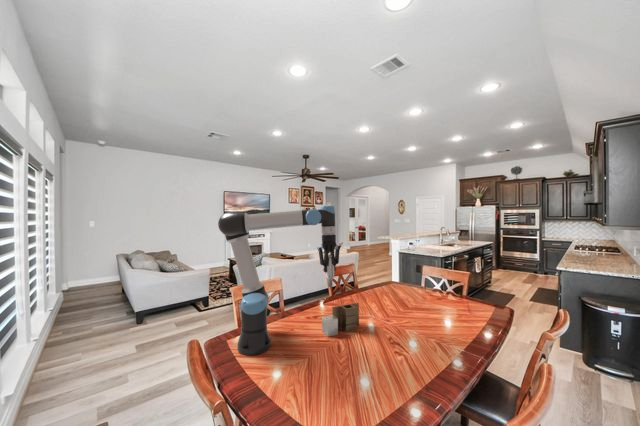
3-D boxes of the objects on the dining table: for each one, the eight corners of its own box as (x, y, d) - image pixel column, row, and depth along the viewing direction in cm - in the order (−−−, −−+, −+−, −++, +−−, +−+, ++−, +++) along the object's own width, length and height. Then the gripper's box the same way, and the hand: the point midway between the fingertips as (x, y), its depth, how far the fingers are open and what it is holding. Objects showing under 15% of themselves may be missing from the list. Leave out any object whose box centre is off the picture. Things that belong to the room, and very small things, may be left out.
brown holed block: (346, 332, 137) (346, 309, 137) (340, 327, 143) (340, 305, 143) (364, 328, 142) (364, 306, 142) (358, 324, 148) (357, 302, 148)
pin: (328, 287, 141) (327, 255, 141) (325, 285, 144) (325, 255, 144) (334, 286, 142) (333, 255, 142) (331, 285, 145) (330, 254, 145)
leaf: (327, 336, 133) (327, 312, 133) (322, 331, 138) (321, 308, 139) (356, 330, 140) (356, 307, 140) (350, 325, 146) (350, 303, 146)
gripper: (318, 235, 136) (319, 281, 136) (344, 233, 143) (346, 277, 143) (312, 234, 143) (313, 278, 143) (337, 233, 150) (339, 274, 150)
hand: (330, 277), depth 143 cm, fingers closed on pin, 2 cm apart
